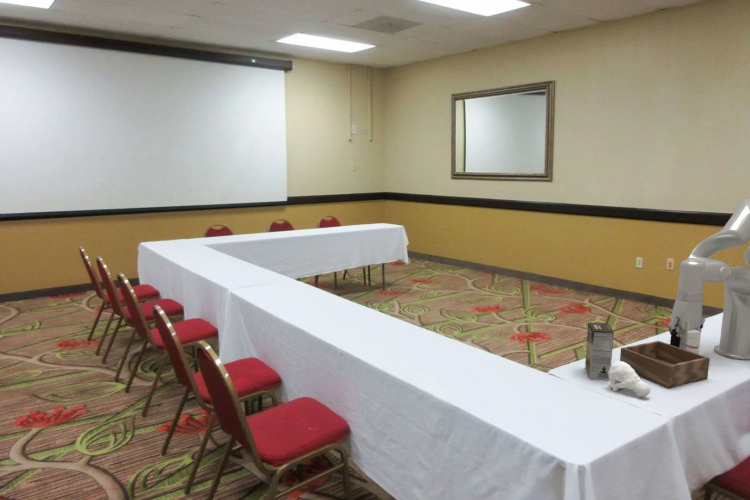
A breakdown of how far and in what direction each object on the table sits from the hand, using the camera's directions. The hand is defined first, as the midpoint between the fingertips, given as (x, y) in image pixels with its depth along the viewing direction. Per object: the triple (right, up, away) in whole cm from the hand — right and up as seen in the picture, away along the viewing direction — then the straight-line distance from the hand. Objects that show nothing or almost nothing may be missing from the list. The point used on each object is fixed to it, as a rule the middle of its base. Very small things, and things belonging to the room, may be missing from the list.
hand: (684, 344), depth 184 cm
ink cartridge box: (0, -6, +1) cm, 6 cm away
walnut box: (-13, -7, -10) cm, 18 cm away
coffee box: (-35, -8, -11) cm, 37 cm away
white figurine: (-31, -10, -25) cm, 41 cm away
